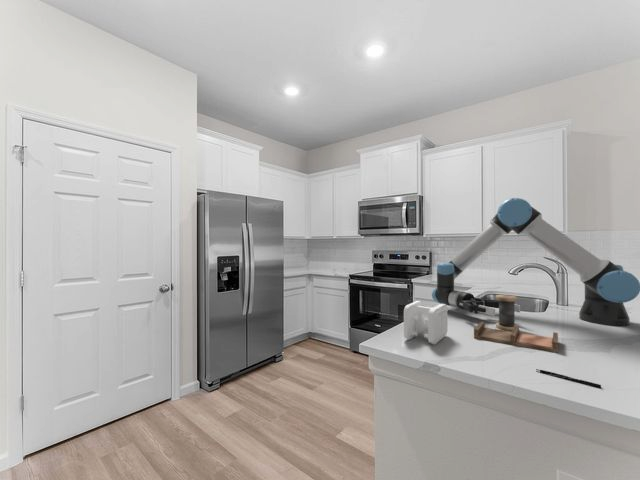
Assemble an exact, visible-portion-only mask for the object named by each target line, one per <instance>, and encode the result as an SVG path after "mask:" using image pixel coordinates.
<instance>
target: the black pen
mask: <svg viewBox="0 0 640 480" xmlns="http://www.w3.org/2000/svg"><path fill="white" fill-rule="evenodd" d="M535 372H536V373H540V374H544V375H549V376H552V377H555V378H559V379H562V380H567V381H570V382H574V383H578V384H581V385H586V386H590V387H594V388H596V389H600V390H601V388H602V384H599V383H595V382H591V381H587V380H583V379H578V378H574V377H571V376H568V375H564V374H559V373H556V372H552V371H547V370H543V369H538V368H537V369H536V371H535Z"/></svg>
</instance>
